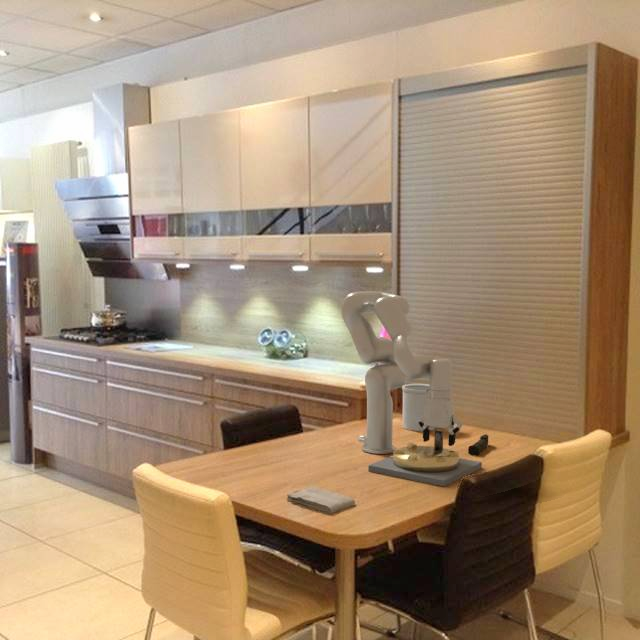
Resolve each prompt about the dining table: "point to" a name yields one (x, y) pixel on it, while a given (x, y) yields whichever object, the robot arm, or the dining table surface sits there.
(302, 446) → the dining table surface
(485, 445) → the hand tool
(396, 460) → the beige piece
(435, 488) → the dining table surface
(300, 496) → the washcloth
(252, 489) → the dining table surface
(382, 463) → the base plate
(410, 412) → the utensil holder
